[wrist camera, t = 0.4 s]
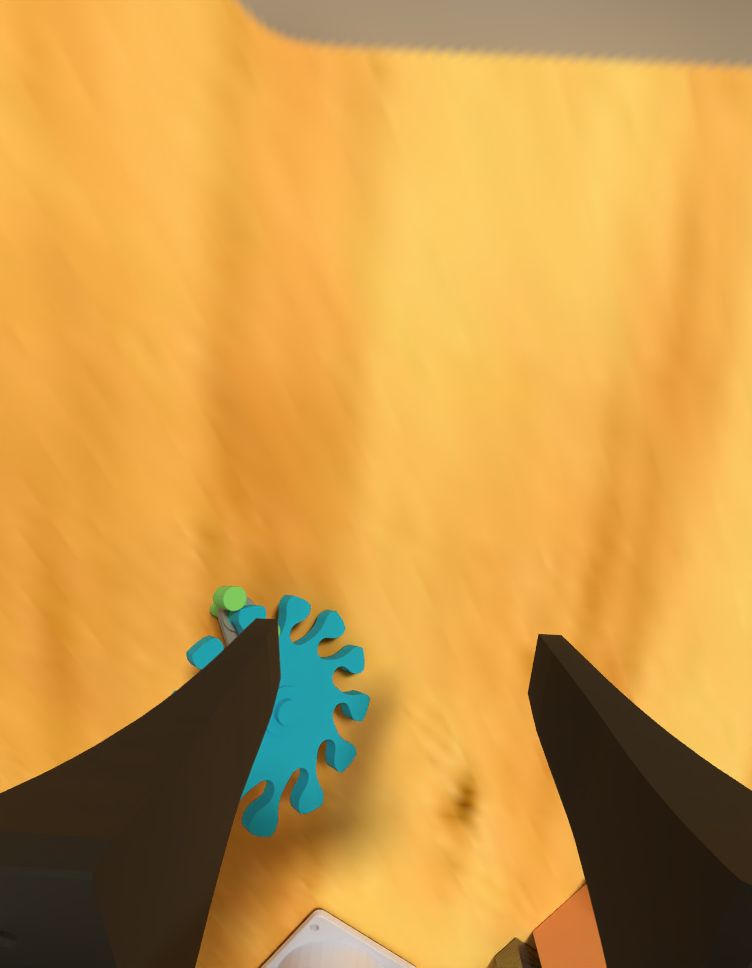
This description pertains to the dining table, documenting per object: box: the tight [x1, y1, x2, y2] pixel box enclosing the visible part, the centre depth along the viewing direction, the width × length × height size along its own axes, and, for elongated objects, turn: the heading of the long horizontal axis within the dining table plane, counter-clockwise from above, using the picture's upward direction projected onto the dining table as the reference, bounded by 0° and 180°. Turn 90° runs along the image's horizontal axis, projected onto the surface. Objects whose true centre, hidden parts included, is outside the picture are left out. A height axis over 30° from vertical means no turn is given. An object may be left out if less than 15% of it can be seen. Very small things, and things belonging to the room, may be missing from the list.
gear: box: [172, 586, 370, 837], centre depth 22 cm, size 11×6×10 cm
